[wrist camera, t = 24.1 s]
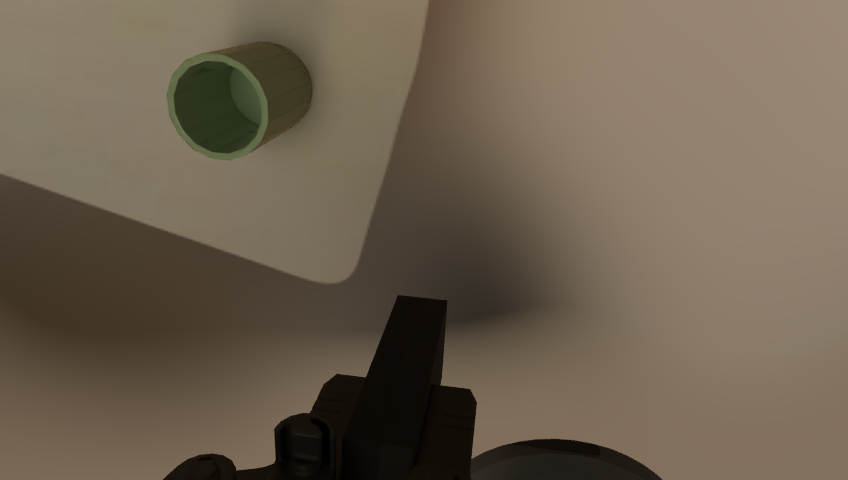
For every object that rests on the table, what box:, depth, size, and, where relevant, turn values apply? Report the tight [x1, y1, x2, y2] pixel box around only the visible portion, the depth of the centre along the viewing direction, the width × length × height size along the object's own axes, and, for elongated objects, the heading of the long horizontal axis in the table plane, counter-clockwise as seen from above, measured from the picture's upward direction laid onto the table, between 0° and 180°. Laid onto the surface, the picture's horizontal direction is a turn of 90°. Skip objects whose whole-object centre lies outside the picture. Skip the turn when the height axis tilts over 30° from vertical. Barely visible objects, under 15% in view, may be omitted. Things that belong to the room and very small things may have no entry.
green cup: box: [167, 42, 312, 160], centre depth 38 cm, size 6×6×8 cm
